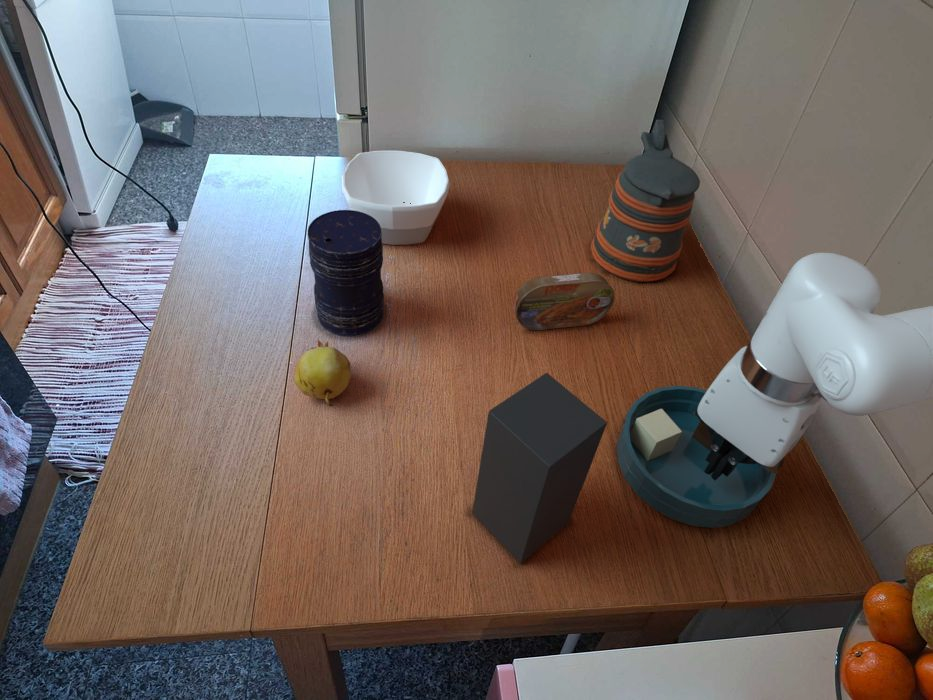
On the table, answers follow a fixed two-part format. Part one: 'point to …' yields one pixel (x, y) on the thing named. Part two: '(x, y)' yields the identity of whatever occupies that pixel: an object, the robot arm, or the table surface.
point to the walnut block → (702, 435)
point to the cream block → (655, 434)
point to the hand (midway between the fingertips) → (716, 469)
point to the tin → (563, 301)
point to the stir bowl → (687, 467)
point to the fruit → (322, 372)
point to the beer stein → (646, 213)
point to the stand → (534, 464)
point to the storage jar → (347, 271)
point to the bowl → (397, 192)
